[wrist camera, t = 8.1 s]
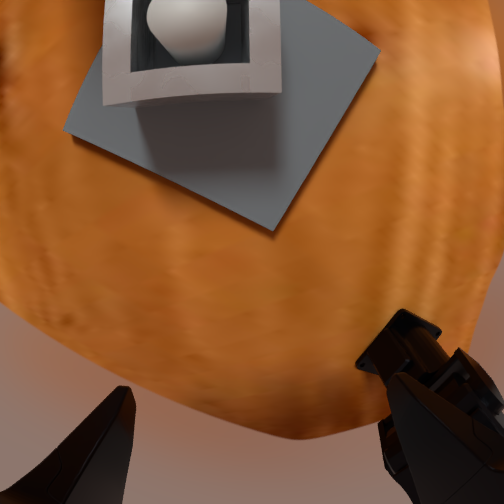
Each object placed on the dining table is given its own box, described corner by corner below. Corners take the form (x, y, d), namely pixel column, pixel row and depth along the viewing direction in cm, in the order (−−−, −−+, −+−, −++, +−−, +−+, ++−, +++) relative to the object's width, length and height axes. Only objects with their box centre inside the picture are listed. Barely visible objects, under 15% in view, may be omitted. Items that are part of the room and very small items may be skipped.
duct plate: (373, 53, 16) (434, 35, 10) (270, 225, 20) (292, 275, 14) (174, -48, 12) (158, -104, 6) (69, 129, 16) (9, 140, 10)
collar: (264, 99, 16) (281, 92, 11) (135, 108, 15) (103, 106, 10) (262, -13, 13) (277, -53, 8) (136, -4, 12) (109, -39, 8)
